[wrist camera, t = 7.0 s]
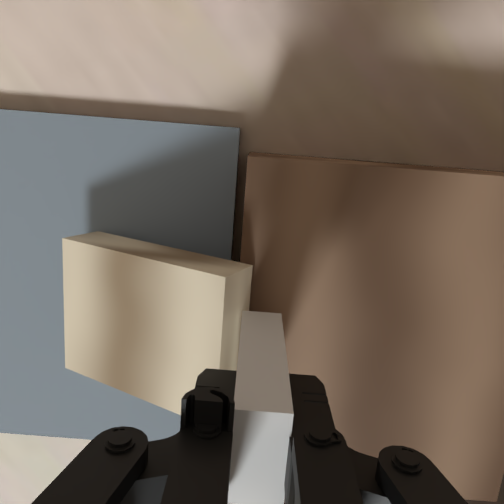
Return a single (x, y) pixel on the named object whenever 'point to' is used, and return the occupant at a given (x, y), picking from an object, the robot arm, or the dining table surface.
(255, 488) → the robot arm
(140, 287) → the birch tile
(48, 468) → the dining table surface
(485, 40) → the dining table surface
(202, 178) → the rubber mat
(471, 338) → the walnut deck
